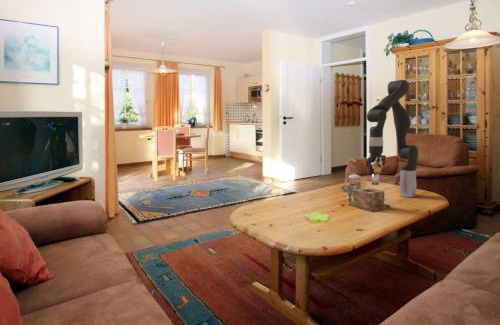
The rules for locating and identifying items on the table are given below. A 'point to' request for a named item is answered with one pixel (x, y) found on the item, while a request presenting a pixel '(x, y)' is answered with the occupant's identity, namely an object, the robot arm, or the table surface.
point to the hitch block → (369, 199)
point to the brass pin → (376, 175)
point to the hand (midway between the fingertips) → (375, 173)
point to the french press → (353, 183)
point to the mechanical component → (349, 190)
